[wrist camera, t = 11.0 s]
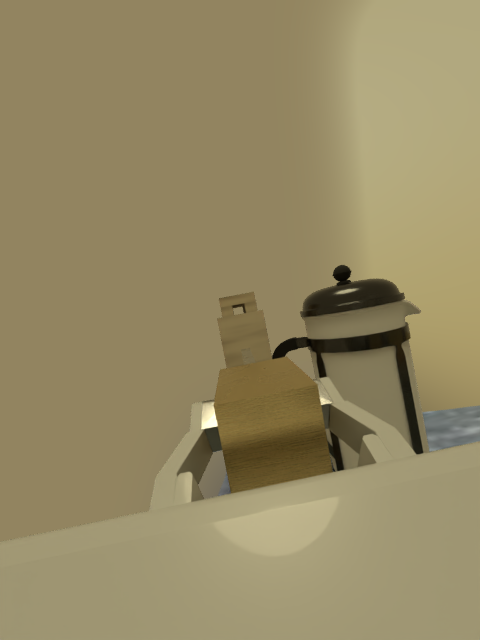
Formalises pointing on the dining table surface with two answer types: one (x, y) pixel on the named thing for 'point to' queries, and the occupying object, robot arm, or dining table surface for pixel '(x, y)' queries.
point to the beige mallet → (270, 424)
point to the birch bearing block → (243, 330)
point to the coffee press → (364, 355)
